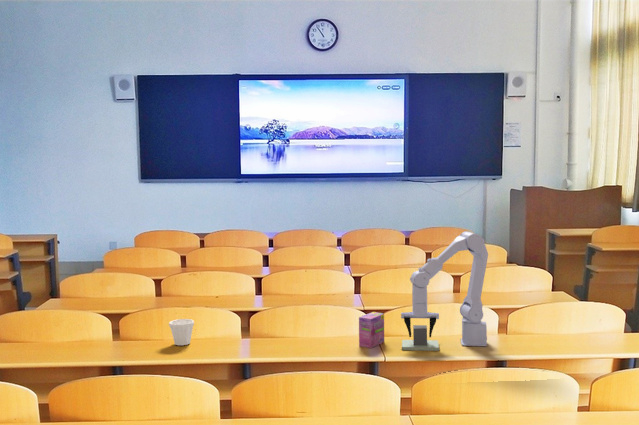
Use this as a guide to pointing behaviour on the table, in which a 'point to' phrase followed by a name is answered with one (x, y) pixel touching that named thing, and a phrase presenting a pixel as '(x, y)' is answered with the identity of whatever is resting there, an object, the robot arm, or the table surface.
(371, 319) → the box
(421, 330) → the cap
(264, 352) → the table surface
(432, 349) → the board
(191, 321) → the cup
